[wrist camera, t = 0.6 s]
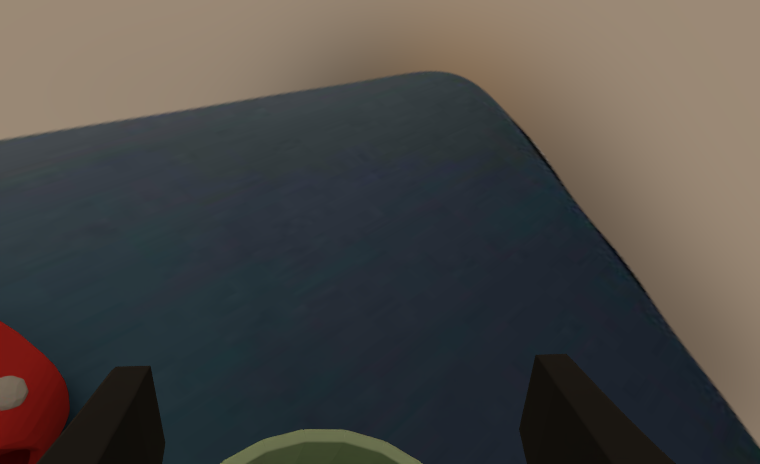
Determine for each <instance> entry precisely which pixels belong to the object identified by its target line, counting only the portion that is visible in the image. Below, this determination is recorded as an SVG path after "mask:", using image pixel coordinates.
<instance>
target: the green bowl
mask: <svg viewBox="0 0 760 464" xmlns="http://www.w3.org/2000/svg"><path fill="white" fill-rule="evenodd" d="M220 464H422V463H421V462H420V461H418V460H416V459H415V458H413V457H411V456H410V455H408V454H406V453H404V452H403V451H401V450H399V449H398V448H396V447H394V446H393V445H391V444H389V443H388V442H384V441H383V440H380V439H376V438H373V437H369V436H366V435H362V434H359V433H355V432H352V431H348V430H331V429H304V430H298V431H294V432H290V433H286V434H282V435H278V436H275V437H271V438H267V439H263V440H262V441H259V442H257V443H255V444H253V445H251V446H249V447H248V448H246V449H244V450H242V451H240V452H239V453H237V454H235V455H233V456H231V457H230V458H228V459H226V460H224V461H223V462H222V463H220Z"/></svg>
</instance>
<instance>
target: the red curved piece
mask: <svg viewBox="0 0 760 464" xmlns="http://www.w3.org/2000/svg"><path fill="white" fill-rule="evenodd" d="M69 410H70V407H69V394H68V390H67V386H66V383H65V381H64V379H63V377H62V376H61V374H60V373H59V371H58V370H57V368H56V367H55V365H54V364H53V363H52V362H51V361H50V360H49V359H48V358H47V357H46V356H45V355H44V354H43V353H42V352H40V351H39V350H38V349H37V348H36V347H34V346H33V345H32V344H31V343H30V342H28V341H27V340H26V339H25V338H24V337H23V336H21V335H20V334H19V333H18V332H16V331H15V330H13V329H12V328H10V327H9V326H7V325H6V324H4V323H3V322H1V321H0V464H36V463H37V462H38V461H39V459H40V458H41V457H42V456H43V455H44V454H45V452H46V451H47V450H48V449H49V448H50V446H51V445H52V444H53V443H54V442H55V441H56V439H57V438H58V437H59V436H60V434H61V432H62V430H63V428H64V426H65V424H66V421H67V418H68V415H69Z"/></svg>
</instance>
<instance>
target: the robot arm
mask: <svg viewBox="0 0 760 464" xmlns="http://www.w3.org/2000/svg"><path fill="white" fill-rule="evenodd" d="M519 430H520V435H521V439H522V444H523V448H524V453H525V457H526V461H527V464H676V463H675V462H673V461H672V460H671V459H670V458H669V457H668V456H667V455H666V454H665V453H664V452H662V451H661V450H660V449H659V448H658V447H657V446H656V445H655V444H654V443H653V442H652V441H651V440H650V439H649V438H648V437H647V436H646V435H645V434H644V433H643V432H642V431H641V430H640V429H639V428H638V427H637V426H636V425H635V424H633V423H632V422H631V421H630V420H629V419H628V418H627V417H626V416H625V414H624V413H623V412H622V411H621V410H620V409H619V408H618V407H617V406H616V405H615V404H614V403H613V402H612V401H611V400H610V399H609V398H608V397H607V396H606V395H605V394H604V393H603V392H602V391H601V390H600V389H599V388H598V387H597V385H596V384H595V383H594V382H593V381H592V380H591V379H590V378H589V377H588V376H587V375H586V374H585V373H584V372H583V371H582V370H581V369H580V368H579V367H578V365H577V364H576V363H575V362H574V361H573V360H572V359H571V358H570V357H569V356H568V355H567V354H550V355H536V356H535V360H534V365H533V369H532V374H531V378H530V383H529V387H528V392H527V396H526V401H525V405H524V410H523V414H522V419H521V423H520V428H519ZM164 448H165V439H164V434H163V429H162V423H161V418H160V413H159V408H158V403H157V398H156V392H155V387H154V382H153V377H152V372H151V366H127V367H115V368H114V369H113V370H112V371H111V372H110V373H109V374H108V376H107V377H106V378H105V379H104V381H103V382H102V383H101V385H100V386H99V387H98V389H97V390H96V391H95V392H94V394H93V395H92V396H91V398H90V399H89V400H88V401H87V403H86V404H85V405H84V406H83V408H82V409H81V410H80V411H79V413H78V414H77V415H76V416H75V418H74V419H73V420H72V421H71V423H70V424H69V425H68V426H67V428H66V429H65V430H64V431H63V432H62V434H61V435H60V436H59V437H58V438H57V439H56V441H55V442H54V443H53V444H52V445H51V446H50V448H49V449H48V450H47V451H46V452H45V454H44V455H43V456H42V457H41V458H40V459H39V461H38V462H37V463H36V464H162V461H163V454H164Z"/></svg>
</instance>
